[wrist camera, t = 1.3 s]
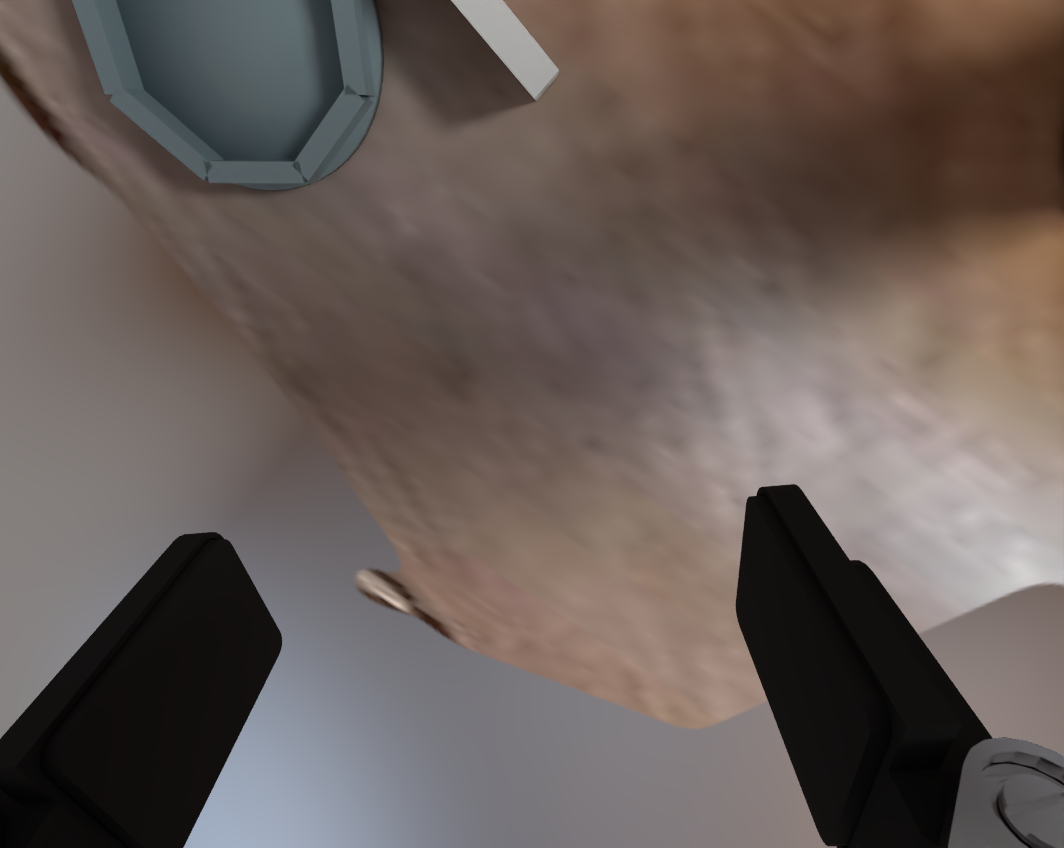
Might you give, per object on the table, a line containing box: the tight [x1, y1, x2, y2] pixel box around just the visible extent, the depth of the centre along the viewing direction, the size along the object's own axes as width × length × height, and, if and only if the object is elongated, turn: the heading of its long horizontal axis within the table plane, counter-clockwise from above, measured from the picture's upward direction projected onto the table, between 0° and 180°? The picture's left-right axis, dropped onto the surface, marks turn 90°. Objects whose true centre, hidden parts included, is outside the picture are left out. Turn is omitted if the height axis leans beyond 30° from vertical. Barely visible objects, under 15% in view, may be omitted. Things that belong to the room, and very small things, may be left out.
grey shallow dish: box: [72, 0, 384, 190], centre depth 25 cm, size 14×14×2 cm
